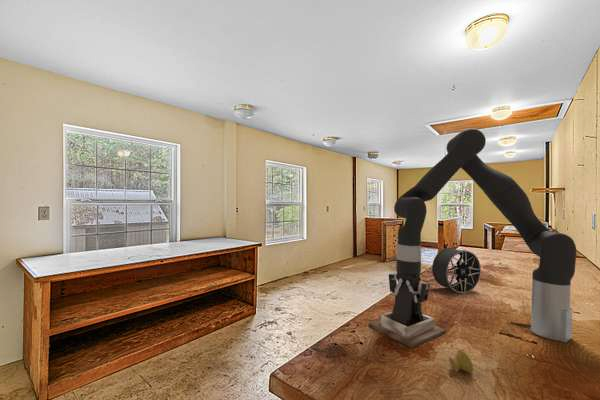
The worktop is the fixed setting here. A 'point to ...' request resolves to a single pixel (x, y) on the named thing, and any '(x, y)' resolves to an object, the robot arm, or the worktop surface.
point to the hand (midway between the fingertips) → (407, 309)
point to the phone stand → (405, 308)
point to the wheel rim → (457, 269)
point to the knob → (461, 362)
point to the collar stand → (408, 330)
